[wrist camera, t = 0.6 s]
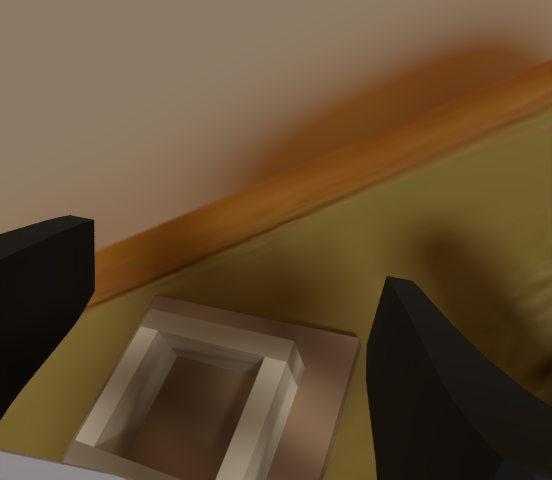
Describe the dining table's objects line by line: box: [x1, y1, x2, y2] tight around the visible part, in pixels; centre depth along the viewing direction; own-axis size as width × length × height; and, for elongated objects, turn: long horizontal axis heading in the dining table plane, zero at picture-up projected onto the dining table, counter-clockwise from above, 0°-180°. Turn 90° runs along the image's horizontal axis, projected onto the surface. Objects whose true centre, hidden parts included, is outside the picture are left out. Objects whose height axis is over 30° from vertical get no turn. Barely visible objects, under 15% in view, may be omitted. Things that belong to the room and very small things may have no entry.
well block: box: [59, 295, 361, 480], centre depth 26 cm, size 14×14×4 cm
